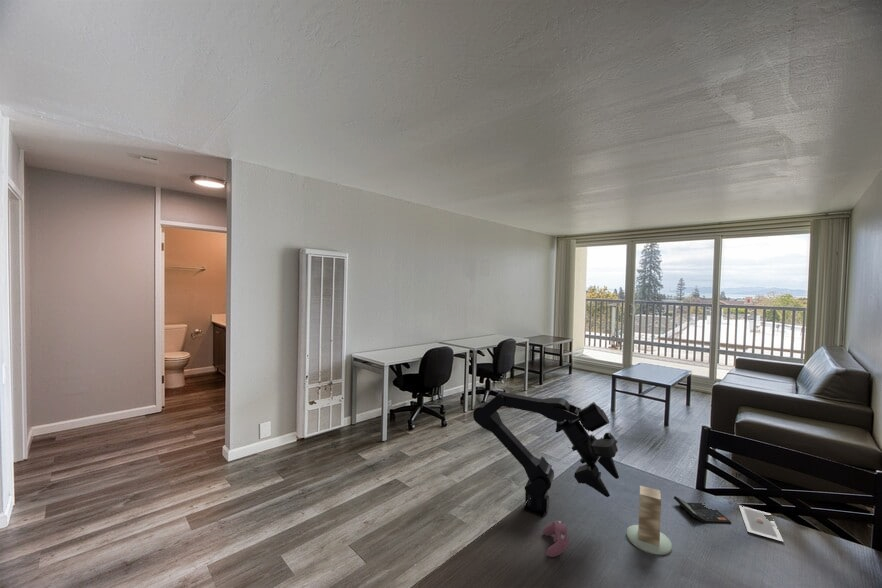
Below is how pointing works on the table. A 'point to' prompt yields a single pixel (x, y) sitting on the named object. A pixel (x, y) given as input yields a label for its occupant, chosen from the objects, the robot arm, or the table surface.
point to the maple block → (649, 515)
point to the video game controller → (557, 538)
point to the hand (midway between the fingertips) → (613, 487)
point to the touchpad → (760, 523)
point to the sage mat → (647, 547)
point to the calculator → (703, 512)
